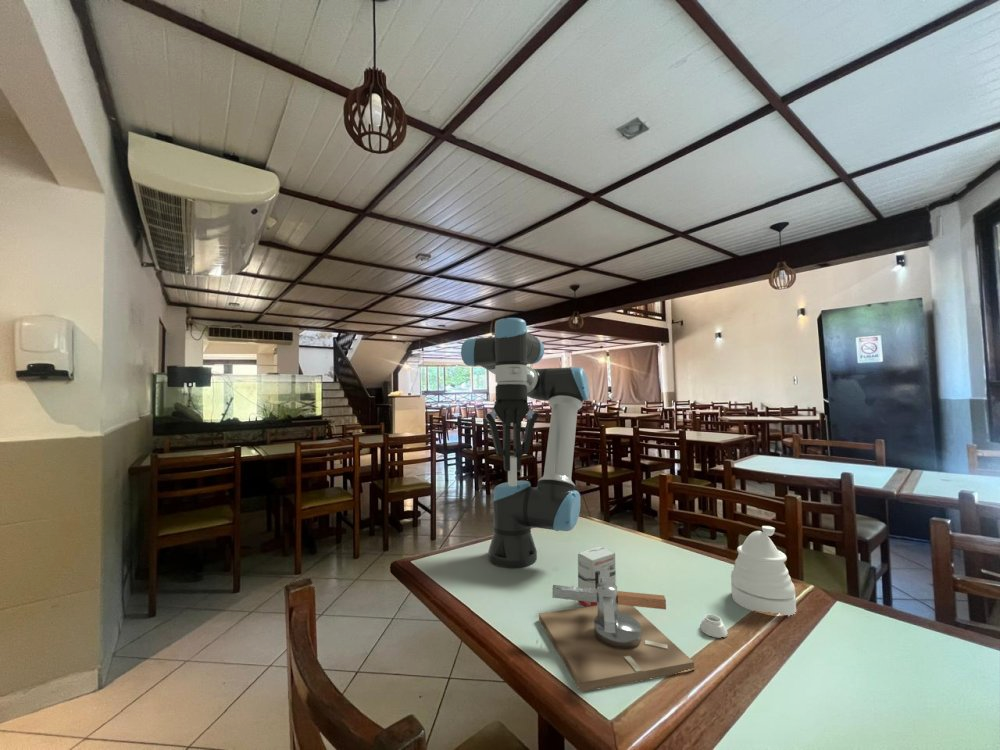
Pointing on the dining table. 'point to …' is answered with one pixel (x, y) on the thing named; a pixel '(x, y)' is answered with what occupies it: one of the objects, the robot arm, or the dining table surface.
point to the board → (610, 650)
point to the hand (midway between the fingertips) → (512, 484)
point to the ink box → (594, 569)
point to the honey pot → (762, 576)
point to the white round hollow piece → (713, 626)
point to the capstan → (612, 610)
